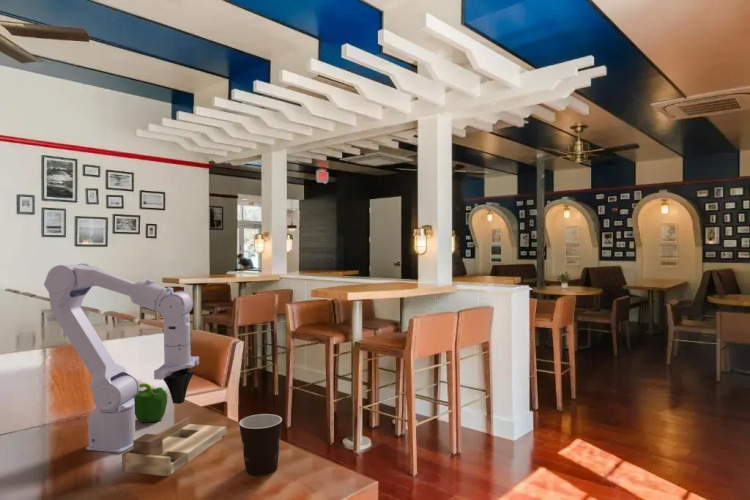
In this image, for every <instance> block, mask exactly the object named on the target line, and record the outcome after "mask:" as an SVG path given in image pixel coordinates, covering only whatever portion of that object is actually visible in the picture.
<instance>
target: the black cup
mask: <svg viewBox="0 0 750 500" xmlns="http://www.w3.org/2000/svg"><path fill="white" fill-rule="evenodd" d="M282 422H283V418H282V417H281V416H279V415H276V414H271V413H270V414H269V413H260V414H259V413H258V414H253V415H249V416H245V417H244V418H242V419H240V421H239V422H238V425H239V430H240V431H239V432H240V439H241V445H242V447H241V448H242V452H243V459H244V468H245V473H246V474H247V475H249V476H252V477H263V476H268V475H270V474H273V473H275V472H276V471H277V470H278V464H279V463H278V462H279V456H280V445H281V444H280V442H281V434H282V433H281V432H282V424H283V423H282Z"/></svg>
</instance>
